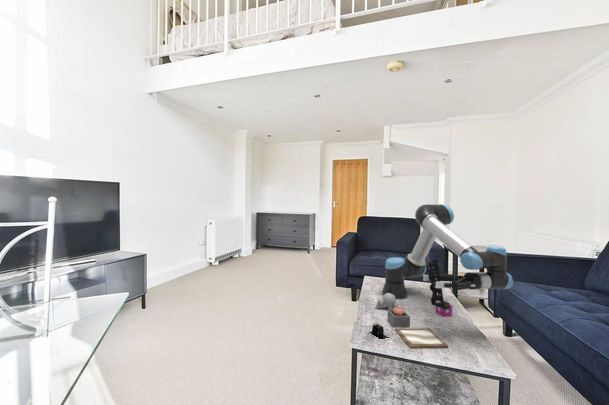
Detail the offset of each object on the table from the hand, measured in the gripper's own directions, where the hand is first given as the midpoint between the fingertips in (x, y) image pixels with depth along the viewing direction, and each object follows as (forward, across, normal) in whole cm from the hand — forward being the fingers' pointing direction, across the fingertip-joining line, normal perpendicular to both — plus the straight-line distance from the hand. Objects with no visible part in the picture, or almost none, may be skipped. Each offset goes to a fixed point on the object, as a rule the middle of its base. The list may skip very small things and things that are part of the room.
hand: (429, 281), depth 120 cm
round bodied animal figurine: (+9, +29, -24) cm, 39 cm away
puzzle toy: (-19, +20, -24) cm, 37 cm away
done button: (+10, +11, -20) cm, 25 cm away
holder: (-4, 0, -11) cm, 12 cm away
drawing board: (+6, -4, -24) cm, 25 cm away
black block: (+24, 0, -25) cm, 34 cm away
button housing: (+10, +11, -24) cm, 28 cm away
